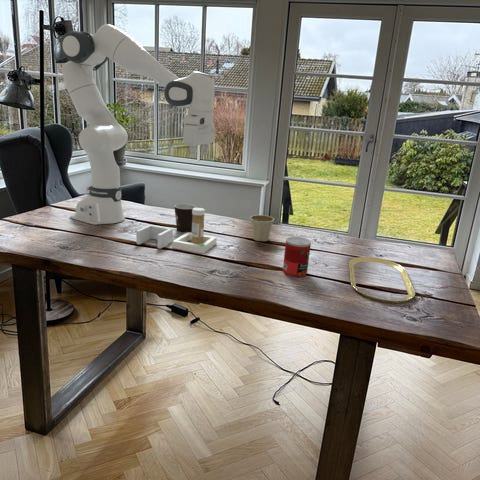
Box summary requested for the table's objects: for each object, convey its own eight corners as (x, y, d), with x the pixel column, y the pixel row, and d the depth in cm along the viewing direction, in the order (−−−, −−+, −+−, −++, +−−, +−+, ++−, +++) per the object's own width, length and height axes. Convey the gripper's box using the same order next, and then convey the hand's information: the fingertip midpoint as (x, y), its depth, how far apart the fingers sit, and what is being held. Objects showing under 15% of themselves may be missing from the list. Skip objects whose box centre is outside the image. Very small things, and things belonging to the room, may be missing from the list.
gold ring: (400, 265, 151) (401, 261, 151) (419, 309, 119) (420, 304, 118) (347, 258, 154) (348, 254, 154) (351, 299, 122) (352, 294, 121)
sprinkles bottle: (205, 245, 156) (207, 209, 152) (194, 246, 154) (196, 211, 150) (199, 241, 160) (201, 206, 156) (188, 242, 157) (190, 207, 153)
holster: (136, 243, 153) (136, 230, 151) (149, 237, 161) (149, 224, 159) (160, 248, 150) (160, 235, 148) (172, 241, 158) (172, 228, 156)
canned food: (301, 279, 132) (305, 246, 128) (278, 273, 136) (281, 240, 132) (310, 272, 138) (314, 240, 135) (288, 266, 142) (292, 235, 138)
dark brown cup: (193, 234, 167) (194, 209, 164) (172, 232, 167) (172, 208, 164) (197, 225, 178) (198, 202, 175) (177, 224, 178) (177, 201, 175)
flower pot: (244, 240, 165) (246, 218, 162) (253, 233, 173) (255, 213, 170) (267, 244, 161) (269, 223, 159) (275, 238, 170) (277, 217, 167)
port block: (172, 247, 151) (172, 239, 150) (187, 238, 162) (187, 230, 161) (203, 253, 148) (203, 245, 147) (216, 243, 159) (216, 235, 158)
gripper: (205, 117, 168) (203, 152, 172) (180, 118, 150) (179, 157, 154) (219, 118, 166) (217, 154, 170) (196, 120, 148) (194, 160, 152)
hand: (199, 156), depth 162 cm, fingers open, 8 cm apart
